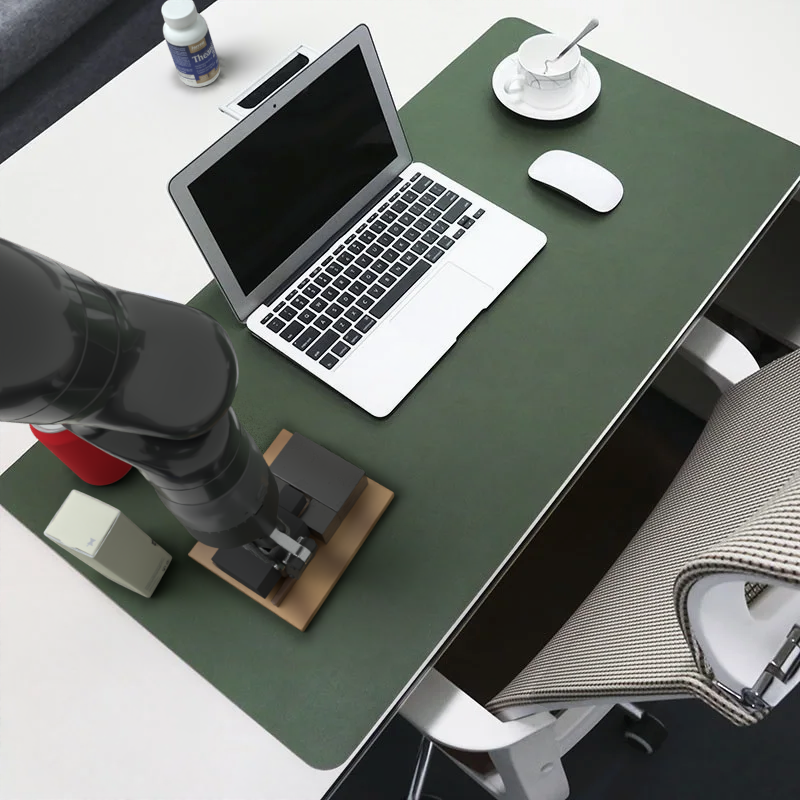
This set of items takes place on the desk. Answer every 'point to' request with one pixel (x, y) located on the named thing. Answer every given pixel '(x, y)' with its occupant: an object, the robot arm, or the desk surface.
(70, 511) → the box
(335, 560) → the dock
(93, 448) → the beverage can
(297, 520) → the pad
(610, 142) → the desk surface
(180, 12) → the pill bottle
